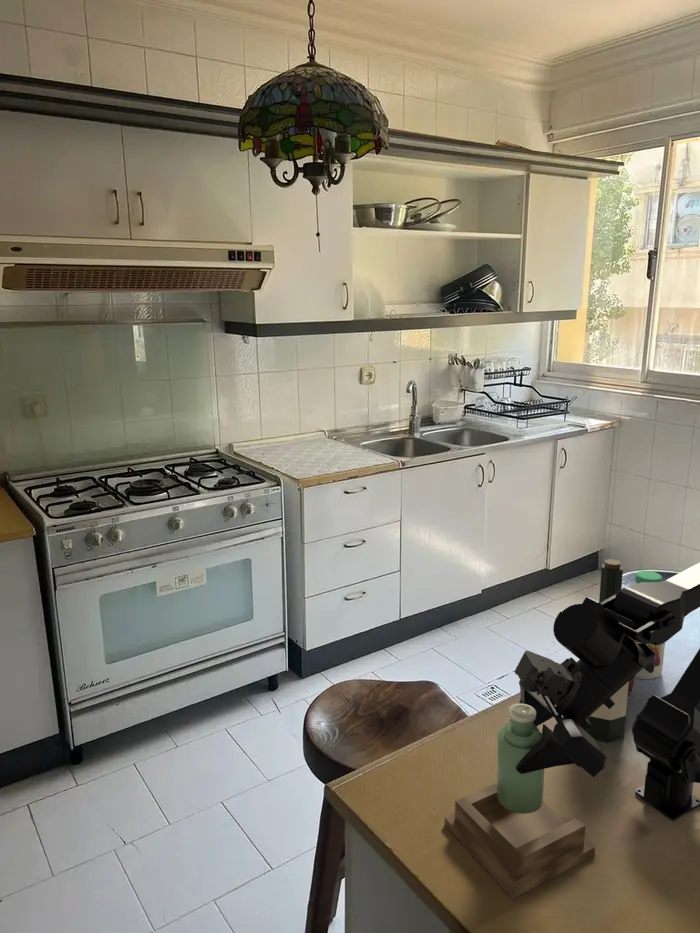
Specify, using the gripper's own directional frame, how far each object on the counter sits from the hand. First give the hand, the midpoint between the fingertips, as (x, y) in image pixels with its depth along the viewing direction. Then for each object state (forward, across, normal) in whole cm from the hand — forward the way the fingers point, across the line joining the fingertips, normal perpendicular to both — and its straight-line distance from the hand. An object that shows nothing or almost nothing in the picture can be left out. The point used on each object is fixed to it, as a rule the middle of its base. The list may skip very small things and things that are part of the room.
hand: (510, 754), depth 90 cm
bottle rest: (+8, 0, +10) cm, 13 cm away
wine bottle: (-6, -23, +26) cm, 35 cm away
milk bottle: (-17, -40, +36) cm, 57 cm away
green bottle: (+4, 0, +6) cm, 7 cm away
